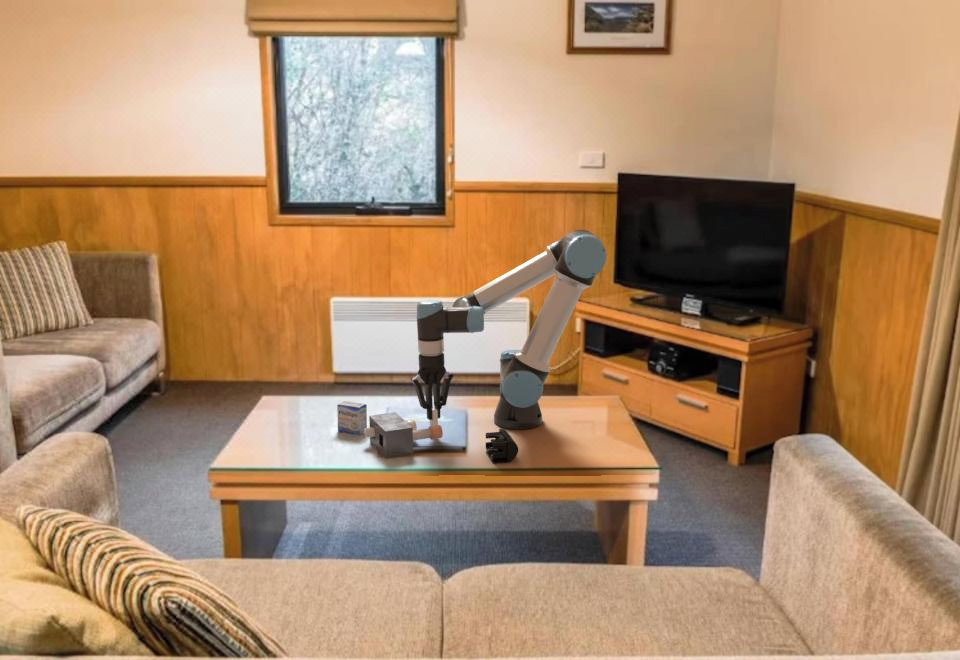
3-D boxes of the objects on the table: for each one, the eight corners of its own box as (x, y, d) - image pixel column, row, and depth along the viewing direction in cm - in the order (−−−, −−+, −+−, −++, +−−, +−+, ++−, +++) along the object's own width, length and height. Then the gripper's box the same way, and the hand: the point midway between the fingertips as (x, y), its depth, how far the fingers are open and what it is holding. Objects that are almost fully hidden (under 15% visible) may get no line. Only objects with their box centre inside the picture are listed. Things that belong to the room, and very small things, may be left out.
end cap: (518, 462, 236) (518, 439, 235) (493, 464, 235) (493, 441, 233) (509, 449, 246) (509, 427, 244) (485, 451, 244) (485, 429, 243)
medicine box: (337, 431, 260) (336, 404, 258) (345, 427, 264) (344, 400, 262) (360, 435, 257) (359, 407, 255) (367, 430, 261) (366, 403, 259)
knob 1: (412, 430, 255) (411, 417, 254) (416, 434, 252) (416, 421, 251) (363, 437, 249) (363, 424, 248) (367, 441, 246) (367, 428, 245)
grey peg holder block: (395, 437, 255) (395, 412, 253) (412, 454, 242) (412, 427, 240) (369, 441, 251) (369, 415, 249) (386, 458, 239) (385, 431, 237)
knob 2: (437, 435, 251) (437, 423, 250) (442, 439, 247) (442, 427, 246) (389, 442, 244) (388, 430, 244) (393, 447, 241) (393, 434, 240)
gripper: (446, 347, 256) (449, 422, 262) (405, 353, 251) (409, 429, 256) (456, 352, 250) (459, 429, 255) (415, 358, 244) (418, 436, 250)
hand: (434, 429), depth 256 cm, fingers closed
